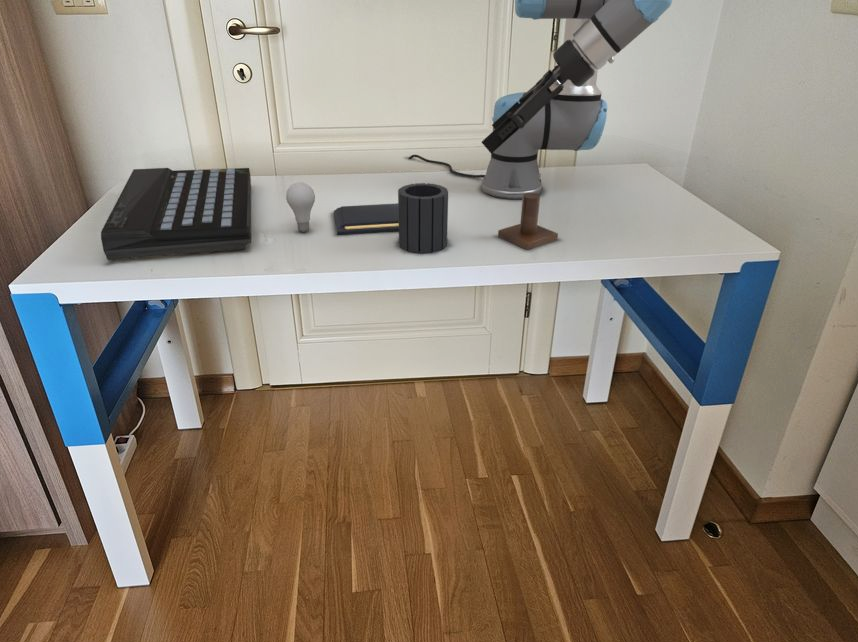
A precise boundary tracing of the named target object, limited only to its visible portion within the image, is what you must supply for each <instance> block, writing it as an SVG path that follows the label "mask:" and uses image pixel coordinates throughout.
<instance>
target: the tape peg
mask: <svg viewBox="0 0 858 642" xmlns="http://www.w3.org/2000/svg"><path fill="white" fill-rule="evenodd" d="M540 200H541V194H536V193H525V194H523V199H521V201H522V202H521V209H520V210H521V212H520V223H518V224H515V225H512V226H507V227H505V228H502V229H498V231H497V237H498V238H500V239H503V240H504V241H506V242H509V243H511V244H514V245H515V246H518V247H521V248H522V249H525V250H531V249H534V248H537V247H540V246H544V245H546V244H550V243H553V242H555V241H558V236H559V233H558V232H555V231H553V230H551V229H548V228H545V227H543V226H541V225H539V224H538V222H539V213H540V204H541V203H540V202H541V201H540Z"/></svg>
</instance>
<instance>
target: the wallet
mask: <svg viewBox="0 0 858 642" xmlns="http://www.w3.org/2000/svg"><path fill="white" fill-rule="evenodd" d="M333 216H334V222H335V229H336V235H338V236H339V235H340V236H341V235H342V236H343V235H355V234H356V235H358V234H359V235H360V234H373V233H375V234H376V233H391V232H392V233H393V232H399V218H398V202H396V203H380V204H379V203H378V204H362V205H360V204H359V205H345V206H343V205H342V206H340V207H337V208H336V209H334V210H333Z"/></svg>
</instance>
